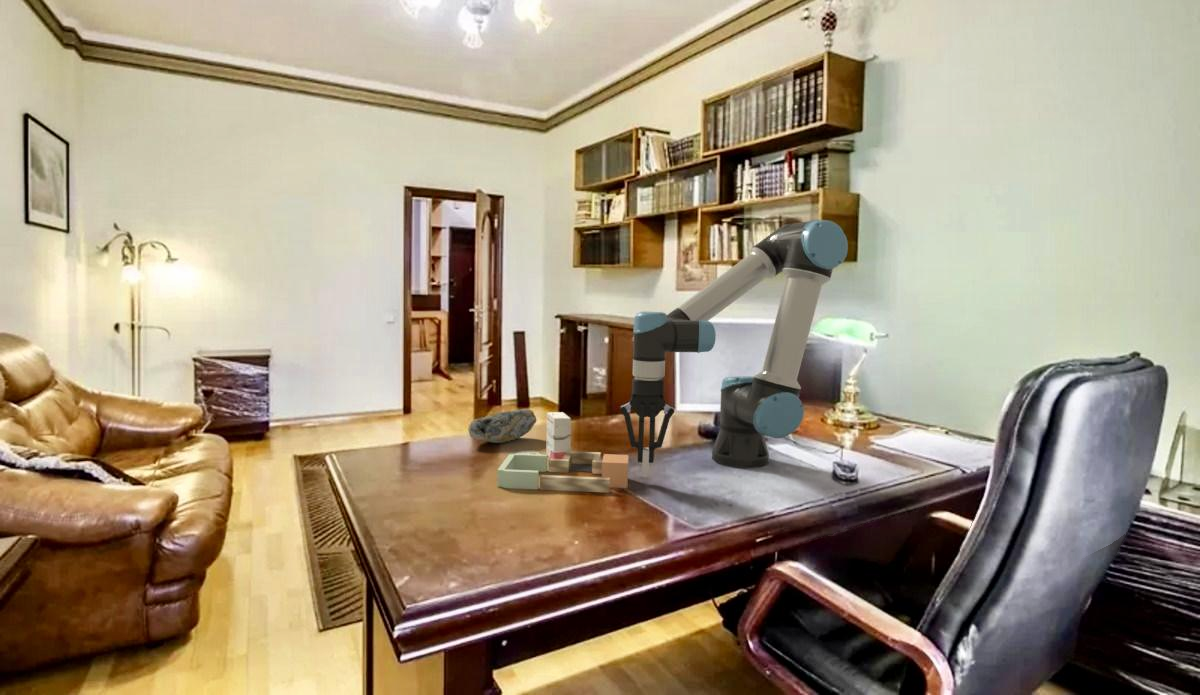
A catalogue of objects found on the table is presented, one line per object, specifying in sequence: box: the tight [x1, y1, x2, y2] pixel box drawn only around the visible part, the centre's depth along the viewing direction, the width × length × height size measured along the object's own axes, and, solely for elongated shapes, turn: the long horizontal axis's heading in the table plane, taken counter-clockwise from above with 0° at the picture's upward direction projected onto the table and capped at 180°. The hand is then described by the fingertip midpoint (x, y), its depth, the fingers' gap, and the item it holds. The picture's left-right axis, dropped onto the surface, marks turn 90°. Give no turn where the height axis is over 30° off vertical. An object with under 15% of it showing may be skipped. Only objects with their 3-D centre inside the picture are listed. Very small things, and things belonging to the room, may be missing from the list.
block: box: [601, 453, 629, 489], centre depth 155 cm, size 6×7×6 cm
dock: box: [496, 452, 548, 490], centre depth 157 cm, size 10×15×4 cm, turn 176°
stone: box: [468, 408, 537, 444], centre depth 189 cm, size 11×21×10 cm, turn 119°
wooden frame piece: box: [539, 450, 611, 494], centre depth 160 cm, size 16×22×3 cm
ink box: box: [545, 411, 572, 459], centre depth 175 cm, size 9×5×12 cm, turn 18°
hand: (645, 475), depth 155 cm, fingers closed
